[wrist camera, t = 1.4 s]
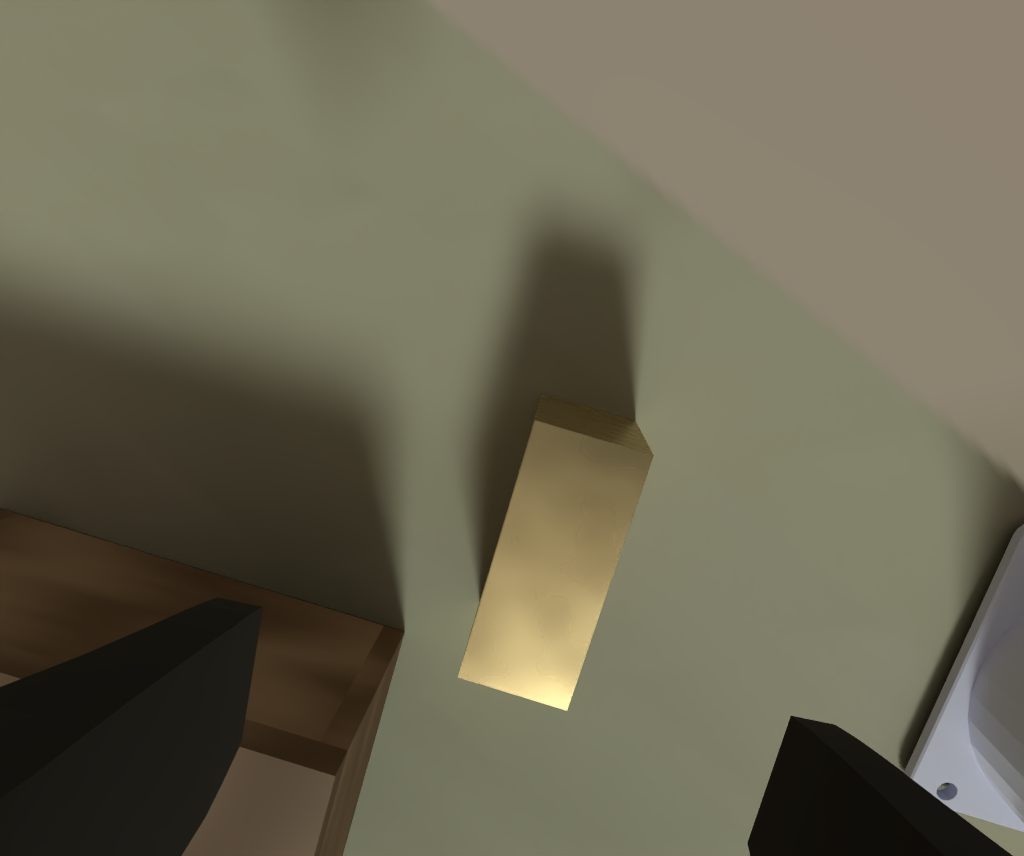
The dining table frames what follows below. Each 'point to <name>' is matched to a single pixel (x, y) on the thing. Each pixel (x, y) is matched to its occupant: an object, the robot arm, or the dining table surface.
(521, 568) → the gold metal block
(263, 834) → the box
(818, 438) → the dining table surface
